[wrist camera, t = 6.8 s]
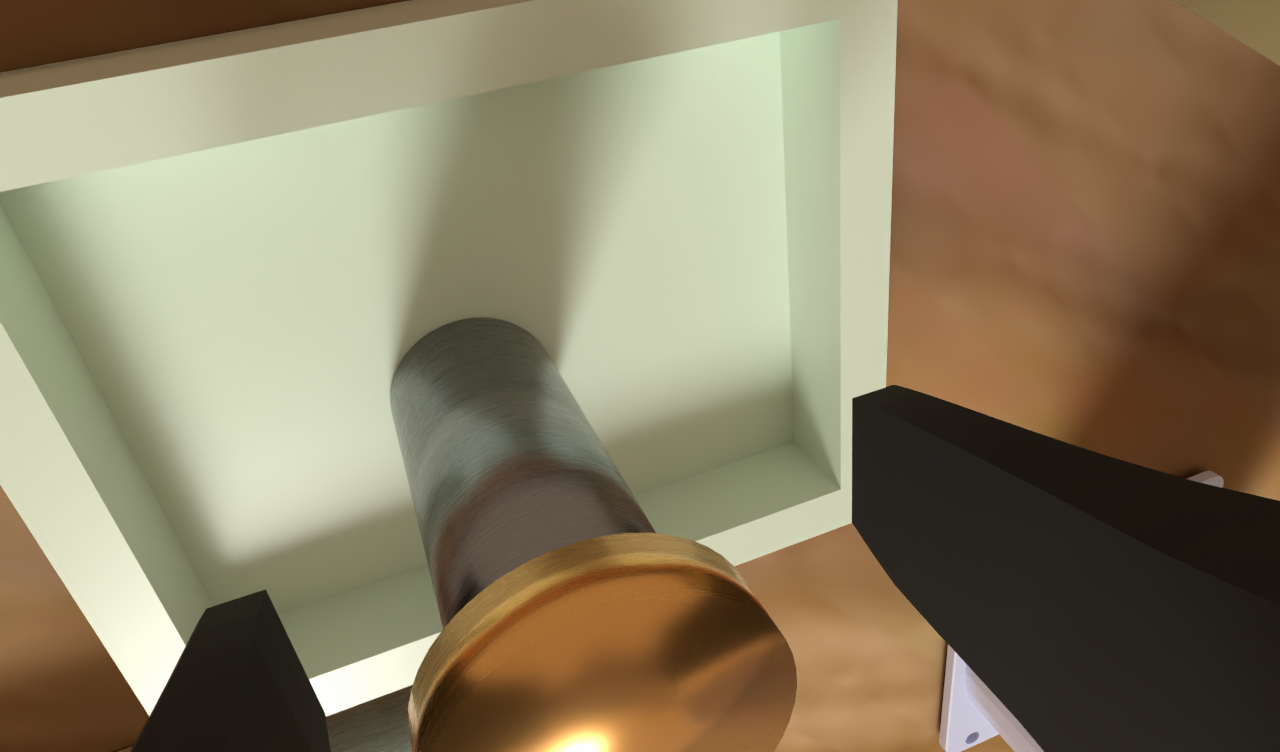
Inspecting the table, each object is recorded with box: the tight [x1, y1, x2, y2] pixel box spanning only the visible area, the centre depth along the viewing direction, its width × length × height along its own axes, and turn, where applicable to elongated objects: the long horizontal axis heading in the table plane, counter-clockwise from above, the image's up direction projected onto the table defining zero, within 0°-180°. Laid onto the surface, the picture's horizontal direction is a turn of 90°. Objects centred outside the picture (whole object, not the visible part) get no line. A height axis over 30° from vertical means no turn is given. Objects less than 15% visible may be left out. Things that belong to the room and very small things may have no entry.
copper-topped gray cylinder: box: [390, 318, 797, 752], centre depth 12 cm, size 4×4×8 cm
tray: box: [0, 0, 898, 716], centre depth 15 cm, size 14×11×2 cm
